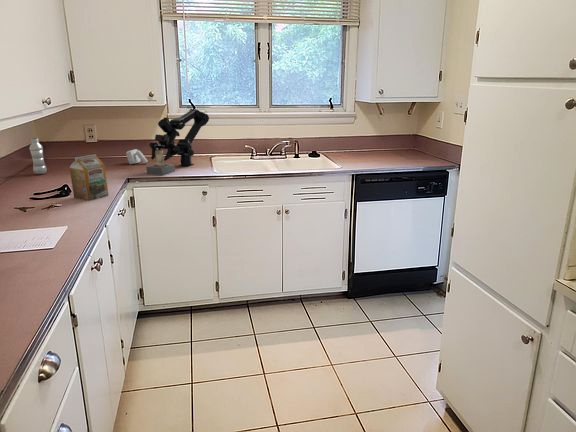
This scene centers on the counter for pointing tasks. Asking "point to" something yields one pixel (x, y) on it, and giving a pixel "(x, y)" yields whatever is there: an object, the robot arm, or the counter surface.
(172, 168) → the frame
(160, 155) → the birch peg
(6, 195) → the counter surface
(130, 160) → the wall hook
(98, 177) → the milk carton
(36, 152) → the plastic bottle
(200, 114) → the robot arm
